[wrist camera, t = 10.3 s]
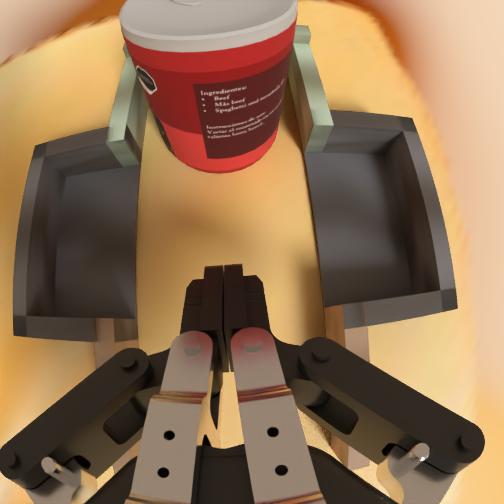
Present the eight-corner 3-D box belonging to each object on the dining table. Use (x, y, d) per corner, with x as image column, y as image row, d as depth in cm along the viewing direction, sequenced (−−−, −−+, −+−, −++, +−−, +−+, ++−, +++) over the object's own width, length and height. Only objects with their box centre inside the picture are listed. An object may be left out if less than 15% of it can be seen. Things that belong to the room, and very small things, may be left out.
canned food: (188, 83, 21) (166, -34, 10) (288, 104, 20) (312, -22, 10) (146, 162, 19) (81, 41, 8) (259, 191, 19) (276, 54, 8)
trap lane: (428, 421, 16) (466, 438, 11) (60, 441, 14) (25, 461, 10) (365, 71, 22) (380, 36, 17) (79, 92, 21) (59, 59, 16)
